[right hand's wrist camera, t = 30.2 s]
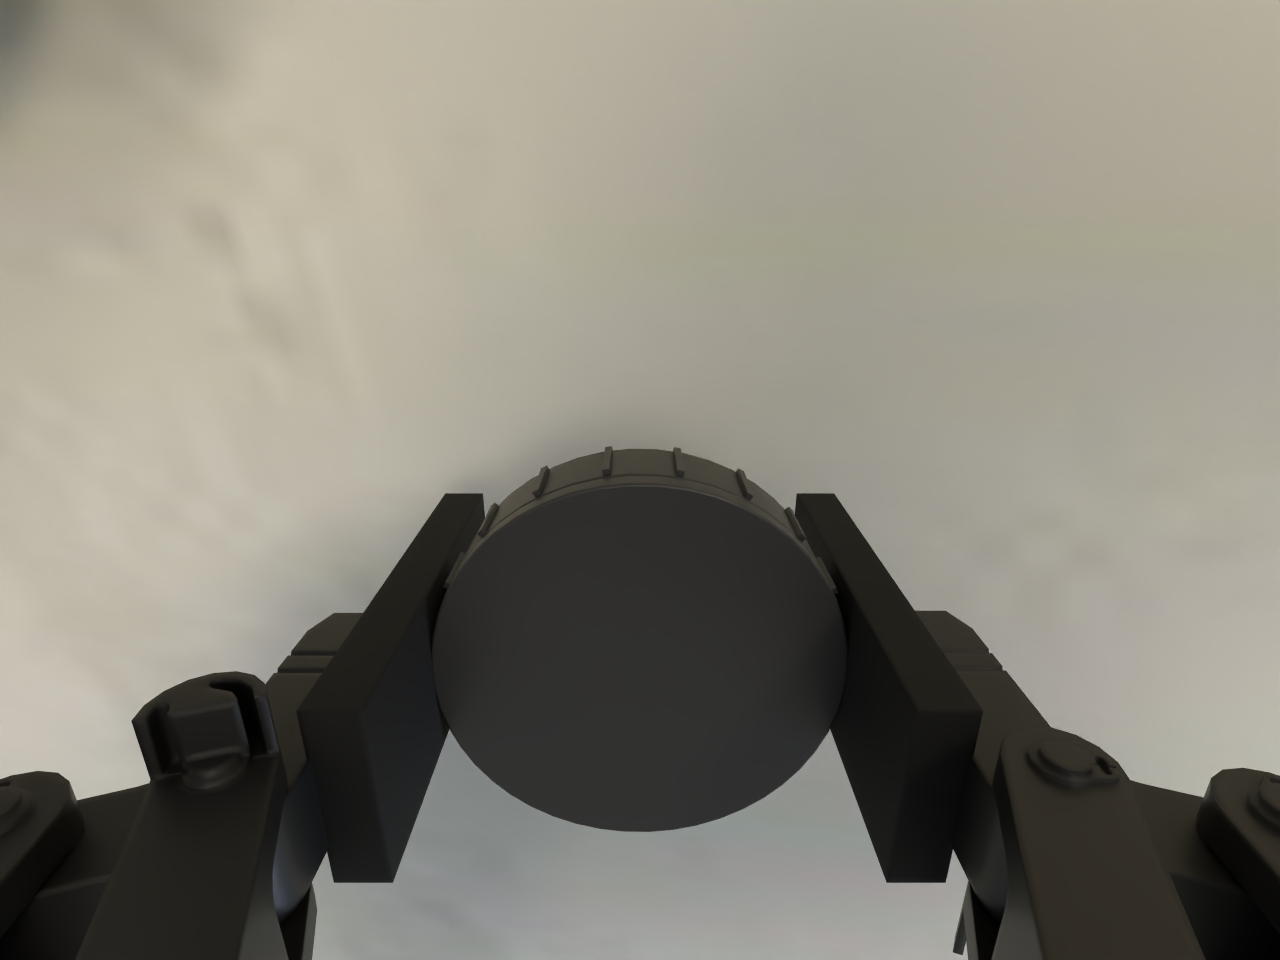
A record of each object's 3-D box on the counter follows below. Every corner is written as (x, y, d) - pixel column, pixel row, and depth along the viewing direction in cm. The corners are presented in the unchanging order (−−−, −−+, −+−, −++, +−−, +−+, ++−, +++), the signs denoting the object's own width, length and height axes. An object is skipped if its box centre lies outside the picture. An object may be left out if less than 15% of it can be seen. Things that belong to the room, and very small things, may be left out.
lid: (739, 804, 14) (751, 875, 12) (413, 712, 13) (384, 776, 11) (893, 520, 11) (930, 565, 10) (510, 388, 11) (490, 415, 9)
